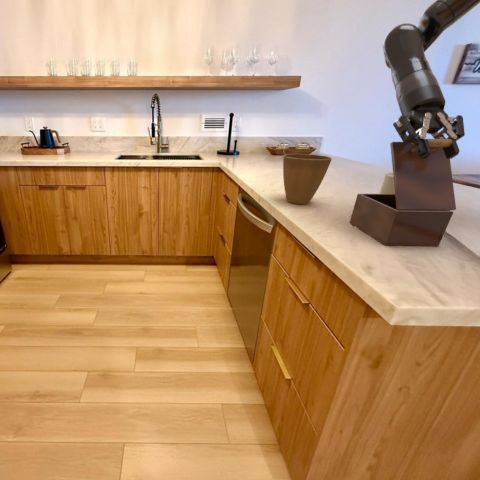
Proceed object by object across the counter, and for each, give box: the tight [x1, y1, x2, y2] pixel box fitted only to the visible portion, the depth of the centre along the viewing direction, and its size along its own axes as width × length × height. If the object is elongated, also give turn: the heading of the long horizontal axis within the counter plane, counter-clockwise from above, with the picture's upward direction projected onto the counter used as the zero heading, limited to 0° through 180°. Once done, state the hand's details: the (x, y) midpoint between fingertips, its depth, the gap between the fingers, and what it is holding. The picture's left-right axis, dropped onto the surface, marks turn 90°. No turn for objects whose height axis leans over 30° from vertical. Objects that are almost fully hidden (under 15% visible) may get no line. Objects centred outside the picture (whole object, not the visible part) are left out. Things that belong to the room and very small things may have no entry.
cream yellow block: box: [378, 172, 395, 194], centre depth 91 cm, size 9×9×12 cm
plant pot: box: [282, 153, 333, 205], centre depth 100 cm, size 15×15×16 cm
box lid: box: [390, 138, 457, 211], centre depth 64 cm, size 16×13×6 cm
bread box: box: [349, 193, 454, 247], centre depth 75 cm, size 16×13×9 cm
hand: (439, 156), depth 63 cm, fingers closed on box lid, 5 cm apart
